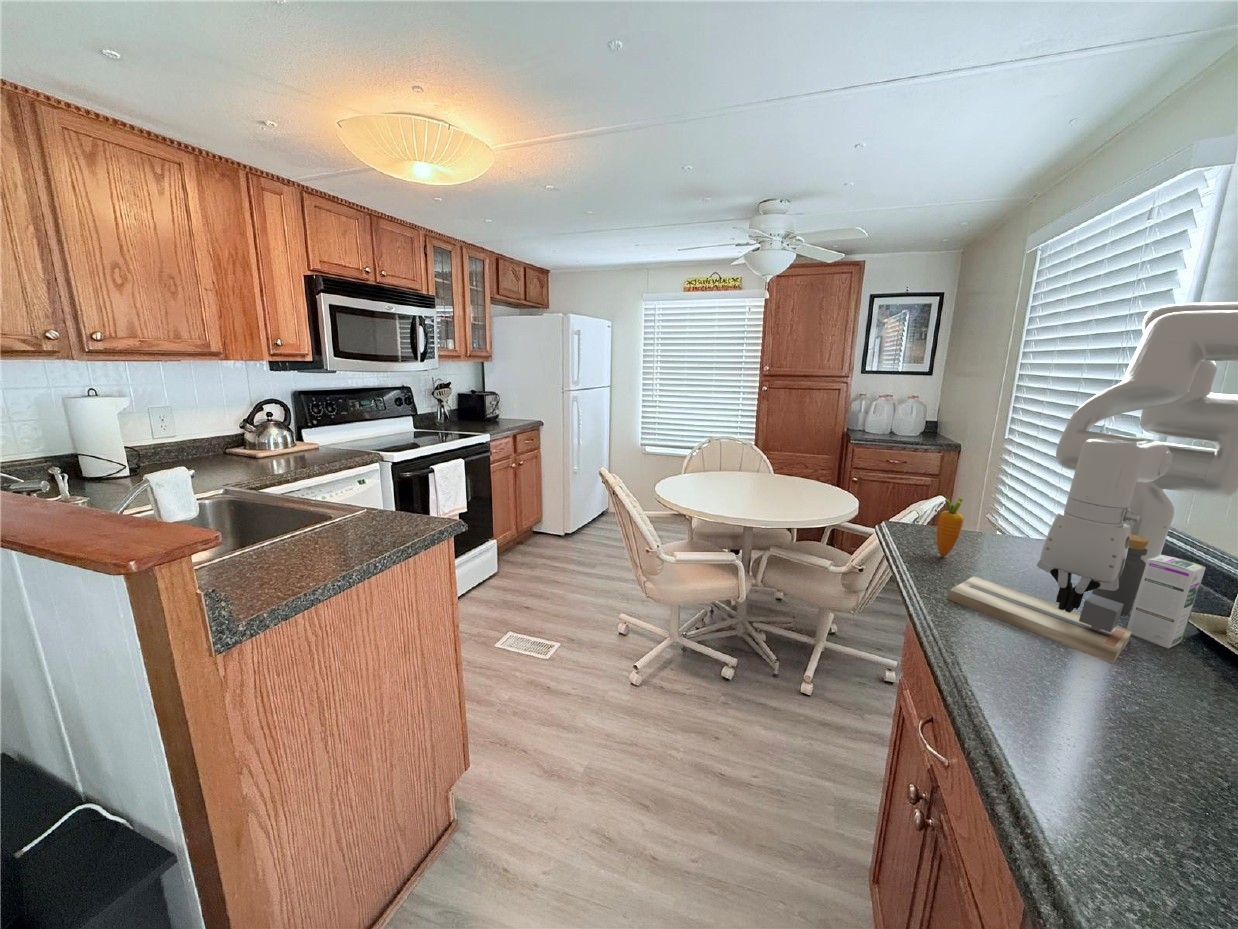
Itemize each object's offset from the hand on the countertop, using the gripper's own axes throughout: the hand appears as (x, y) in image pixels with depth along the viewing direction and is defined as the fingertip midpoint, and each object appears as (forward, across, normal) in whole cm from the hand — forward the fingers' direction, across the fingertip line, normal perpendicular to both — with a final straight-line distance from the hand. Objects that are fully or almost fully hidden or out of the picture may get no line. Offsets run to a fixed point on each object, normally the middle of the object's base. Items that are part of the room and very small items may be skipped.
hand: (1066, 608), depth 87 cm
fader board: (+4, +4, 0) cm, 6 cm away
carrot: (+4, +26, -17) cm, 31 cm away
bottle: (+4, -3, -20) cm, 21 cm away
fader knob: (+2, -4, 0) cm, 5 cm away
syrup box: (+4, -10, -12) cm, 16 cm away
